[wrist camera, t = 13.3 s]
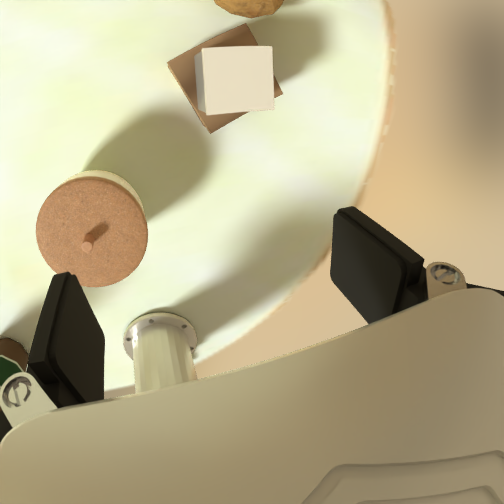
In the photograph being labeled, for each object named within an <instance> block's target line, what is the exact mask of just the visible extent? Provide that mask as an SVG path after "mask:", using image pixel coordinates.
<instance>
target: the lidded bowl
mask: <svg viewBox="0 0 504 504" xmlns="http://www.w3.org/2000/svg"><path fill="white" fill-rule="evenodd" d="M36 237H37V243H38V246H39V250H40V252H41V254H42V256H43V258H44V259H45V261H46V262H47V264H48V265H49V266H50V267H51V268H52V270H53V271H55V272H56V273H57V274H60V273H64V272H70V273H71V275H73V274H75V275H76V276H77V278H78V281H79V283H80V285H81V286H87V287H102V286H107V285H111V284H114V283H117V282H119V281H121V280H123V279H124V278H126V277H127V276H129V275H130V274H131V273H132V272H133V271H134V270H135V269H136V268H137V266H138V265H139V264H140V262H141V260H142V259H143V256H144V254H145V251H146V247H147V242H148V229H147V222H146V218H145V212H144V209H143V205H142V202H141V200H140V198H139V196H138V194H137V193H136V191H135V190H134V189H133V187H132V186H131V185H130V184H129V183H128V182H127V181H125V180H124V179H123V178H122V177H120V176H118V175H116V174H114V173H111V172H108V171H103V170H90V171H84V172H81V173H78V174H76V175H74V176H72V177H70V178H68V179H67V180H65V181H64V182H63V183H62V184H60V185H59V186H58V187H57V188H56V189H55V190H54V191H53V192H52V193H51V194H50V195H49V196H48V197H47V199H46V200H45V202H44V203H43V205H42V207H41V209H40V212H39V214H38V218H37V223H36Z"/></svg>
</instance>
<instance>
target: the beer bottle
mask: <svg viewBox="0 0 504 504" xmlns="http://www.w3.org/2000/svg"><path fill="white" fill-rule="evenodd" d="M28 357H29V356H28V354H27V352H26V351H25V349H24V348H23V346H22V345H21V344H20V343H18V342H15V341H13V340H12V339H10V338H4V339H0V389H1V387H2V385H3V384H4V382H5V381H6V380H7V379H8V378H9V377H11V376H12V375H14V374H16V373H19V372H26V368H27V363H28ZM1 410H2V408H1V406H0V411H1Z"/></svg>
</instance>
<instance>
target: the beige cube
mask: <svg viewBox="0 0 504 504" xmlns="http://www.w3.org/2000/svg"><path fill="white" fill-rule="evenodd" d="M194 59H195V74H196V88H197V101H198V109H199V110H201V111H203V112H205V113H206V115H216V114H225V113H236V112H248V111H262V110H274V81H273V55H272V46H232V47H213V48H202V51H201V52H199V53H198V54H196V55H195V56H194Z"/></svg>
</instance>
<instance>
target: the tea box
mask: <svg viewBox="0 0 504 504" xmlns="http://www.w3.org/2000/svg"><path fill="white" fill-rule="evenodd" d="M232 46H258V44H257V42H256V40H255V38H254V36H253V35H252V33H251V31H250V29H249V27H248V26H247V24H246V23H245V24H243V25H241V26H238V27H236V28H234V29H231V30H229V31H227V32H225V33H223V34H220V35H218V36H216V37H214V38H212V39H210V40H208V41H206V42H204V43H202V44H200V45H198V46H196V47H194V48H192V49H190V50H188V51H187V52H185V53H183V54H181V55H179V56H177V57H176V58H174V59H172V60H170V61H169V62H167V64H168V68H169V69H170V71H171V73H172V74H173V76H174V77H175V79H176V81H177V82H178V84H179V86H180V87H181V89H182V90H183V92H184V94H185V95H186V97H187V99H188V100H189V102H190V104H191V105H192V107H193V109H194V110H195V112H196V114H197V115H198V117H199V119H200V120H201V122H202V124H203V125H204V126H205V127H206V128H207V130H208V131H209V133H210V134H211V133H213V132H214V131H216V130H218V129H219V128H221V127H223V126H225V125H226V124H228V123H230V122H232V121H233V120H235V119H237V118H239V117H240V116H242V115H244V114H246V113H248V112H249V111H248V112H236V113H225V114H216V115H206V113H205V112H203V111H201V110H199V109H198V101H197V88H196V74H195V59H194V56H195V55H196V54H198V53H199V52H201V51H202V48H213V47H232ZM273 81H274V98H276V97H278V96H280V95H282V94H283V93H282V91H281V89H280V86H279V84H278V82H277V80H276V78H275V76H274V74H273Z"/></svg>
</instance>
